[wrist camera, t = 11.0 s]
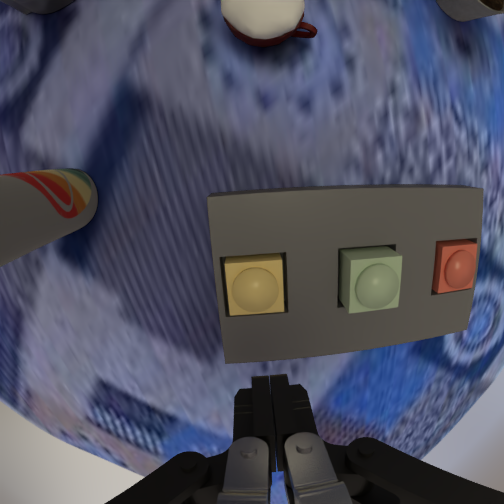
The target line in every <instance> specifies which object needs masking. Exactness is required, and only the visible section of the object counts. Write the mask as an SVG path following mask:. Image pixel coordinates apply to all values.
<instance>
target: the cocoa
mask: <svg viewBox="0 0 504 504" xmlns="http://www.w3.org/2000/svg"><path fill="white" fill-rule="evenodd" d="M304 7H305V5H304V0H221V12H222V15H223V17H224V21H225V22H226V24H227V25H228V27H229V28H230V30H231V32H232V33H233V34H234V36H235V37H237V38H238V39H240V40H242V41H243V42H245V43H246V44H248V45H253V46H258V47H268V46H273V45H278V44H280V43H281V42H283V41H284V40H286V39H287V38H289V37H290V36H292V37H299V38H314V37H315V36H316V34H317V29H316V28H315V27H314V26H313V25H311V24H308V23H305V22H301V21H302V19H303V17H304ZM297 29H305V30H308V31H309V32H301V31H296V30H297Z"/></svg>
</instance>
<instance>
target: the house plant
mask: <svg viewBox="0 0 504 504" xmlns="http://www.w3.org/2000/svg"><path fill="white" fill-rule="evenodd" d="M436 2H437V3H438V5H439V6H440V8H441V9H442V10H443V11H444V12H445V13H446V14H447V15H448V16H450V17H451V18H453V19H455V20H457V21H461V22H464V21H469V20H473V19H478V18H482V17H487V16H492V15H496V14H502V13H504V0H436Z"/></svg>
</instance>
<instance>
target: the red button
mask: <svg viewBox="0 0 504 504" xmlns="http://www.w3.org/2000/svg"><path fill="white" fill-rule="evenodd" d="M476 254H477V243H474V242H472V241H470V240H467V239H455V240H442V241H436V248H435V261H434V271H433V281H432V289H433V290H434V291H435V292H437V293H444V292H450V291H456V290H462V289H468V288H472V285H473V278H474V274H475V270H476Z"/></svg>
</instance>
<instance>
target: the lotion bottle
mask: <svg viewBox="0 0 504 504" xmlns="http://www.w3.org/2000/svg"><path fill="white" fill-rule="evenodd" d="M97 203H98V195H97V190H96V187H95V184H94V182H93V181H92V179H91V178H90V177H89V176H88V175H87V174H86V173H85V172H83V171H81V170H78V169H53V170H41V171H31V172H21V173H12V174H3V175H0V267H1V266H3V265H5V264H7V263H9V262H11V261H13V260H15V259H17V258H19V257H21V256H23V255H25V254H27V253H29V252H31V251H33V250H35V249H37V248H40V247H42V246H44V245H46V244H48V243H50V242H52V241H54V240H57V239H59V238H61V237H63V236H65V235H67V234H70V233H72V232H74V231H76V230H78V229H80V228H82V227H84V226H85V225H86V224H88V223H89V222H90V220H91V219H92V218H93V216H94V214H95V212H96V209H97Z"/></svg>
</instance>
